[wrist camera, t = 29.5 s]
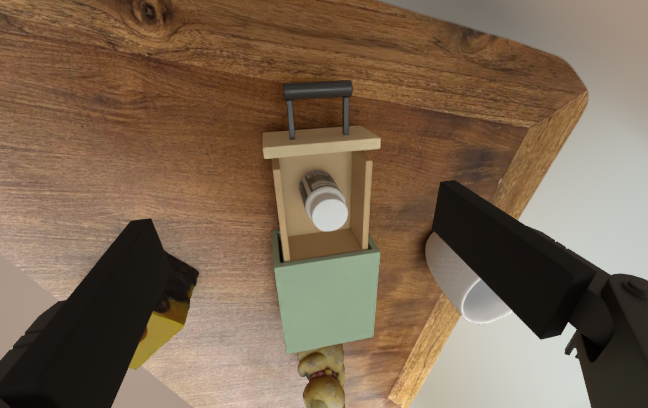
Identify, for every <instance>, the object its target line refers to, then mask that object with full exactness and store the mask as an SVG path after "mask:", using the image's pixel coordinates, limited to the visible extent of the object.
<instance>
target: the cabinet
mask: <svg viewBox="0 0 648 408" xmlns="http://www.w3.org/2000/svg"><path fill="white" fill-rule="evenodd" d="M272 245H273V263H274V273H275V280H276V287H277V294H278V300H279V307H280V314H281V321H282V327H283V334H284V341H285V348H286V354H292V353H297V352H302V351H307V350H311V349H316V348H321V347H326V346H331V345H336V344H341V343H346V342H350V341H355V340H360V339H365V338H370V337H373V334H374V322H375V310H376V297H377V285H378V273H379V261H380V251H379V249H378V248H377V246H376V245H375V243H374V241H373V240H372V238H371V236H370V235H369V233H368V250H365V251H358V252H351V253H345V254H338V255H331V256H325V257H318V258H312V259H305V260H298V261H292V262H285V263H284V258H283V250H282V241H281V233H280V229H279V230H272Z"/></svg>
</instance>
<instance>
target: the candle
mask: <svg viewBox="0 0 648 408" xmlns="http://www.w3.org/2000/svg"><path fill="white" fill-rule="evenodd" d="M165 254H166V253H165ZM166 257H167V259H168V262H169V264H170V267H171V271H170V273H169V276H168V278H167V280H166V283H165V285H164V287H163V289H162V292H161V294H160V296H159V299H158V301H157V303H156V305H155V308H154V310H153V312H152V315H151V317H150V319H149V322H148V324H147V326H146V328H145V331H144V333H143V335H142V338H141V340H140V342H139V344H138V347H137V349H136V351H135V354H134V356H133V358H132V361H131V363H130V365H129V367H128V368H131V369H135V370H136V369H137V368H139V367H140V366H141V365H142V364H143V363H144V362H145V361H146V360H147V359H149V357H150V356H151V355H152V354H154V353H155V352H156V351H157V350H158V349H159V348H160V347H161V346H162V345H164V344H165V343H166V342H167V341H169V340H170V339H171V338H172V337H173V336H174V335H175V334H176V333H178V332H179V331H180V330H181V329H182V328H183V326H184V324H185V322H186V317H187V313H188V310H189V307H190V298H191V296H192V291H193V288H194V287H195V286H196V283H197V276H198V275H199V273H198V272H197V271H196V270H195V269H193V268H191V267H189V266H188V265H187V264H185V263H182V262H180V261H179V260H177V259H176V258H173V257H172V256H170V255H168V254H166Z"/></svg>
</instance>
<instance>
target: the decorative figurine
mask: <svg viewBox="0 0 648 408" xmlns="http://www.w3.org/2000/svg"><path fill="white" fill-rule="evenodd" d="M297 357H298V360H299V365H298V373H299V374H300V376H301V377H305V376H306V377H307V379H308V380H309V383H308V384H307V386H306V387H305V390H304V392H303V401H304V404H305V406H306V407H307V408H345V393H344V390H343V386H344V377H345V368H344V364H343V361H344V350H343V347H342V344H336V345H331V346H326V347H321V348H316V349H311V350H307V351H302V352H297Z"/></svg>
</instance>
